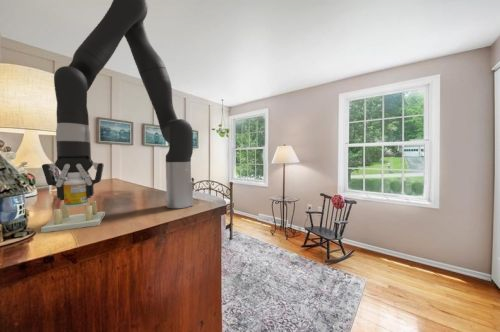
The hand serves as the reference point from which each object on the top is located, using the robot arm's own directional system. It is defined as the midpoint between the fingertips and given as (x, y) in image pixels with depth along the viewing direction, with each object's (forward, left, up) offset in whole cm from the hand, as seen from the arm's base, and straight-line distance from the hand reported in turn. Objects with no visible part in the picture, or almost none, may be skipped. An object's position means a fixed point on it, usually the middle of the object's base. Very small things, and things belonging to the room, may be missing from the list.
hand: (76, 198), depth 61 cm
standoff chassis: (0, 0, -7) cm, 7 cm away
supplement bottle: (0, 0, -2) cm, 2 cm away
